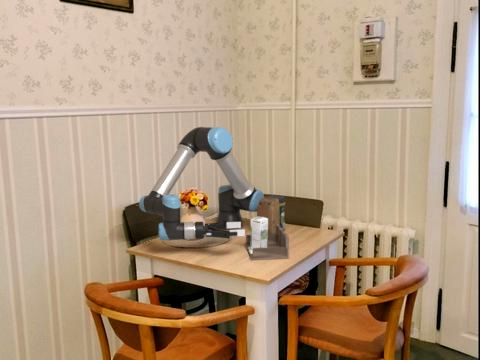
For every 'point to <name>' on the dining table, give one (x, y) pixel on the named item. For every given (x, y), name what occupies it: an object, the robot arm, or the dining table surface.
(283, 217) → the coffee jar
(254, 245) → the syrup box
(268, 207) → the block
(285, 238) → the bay
